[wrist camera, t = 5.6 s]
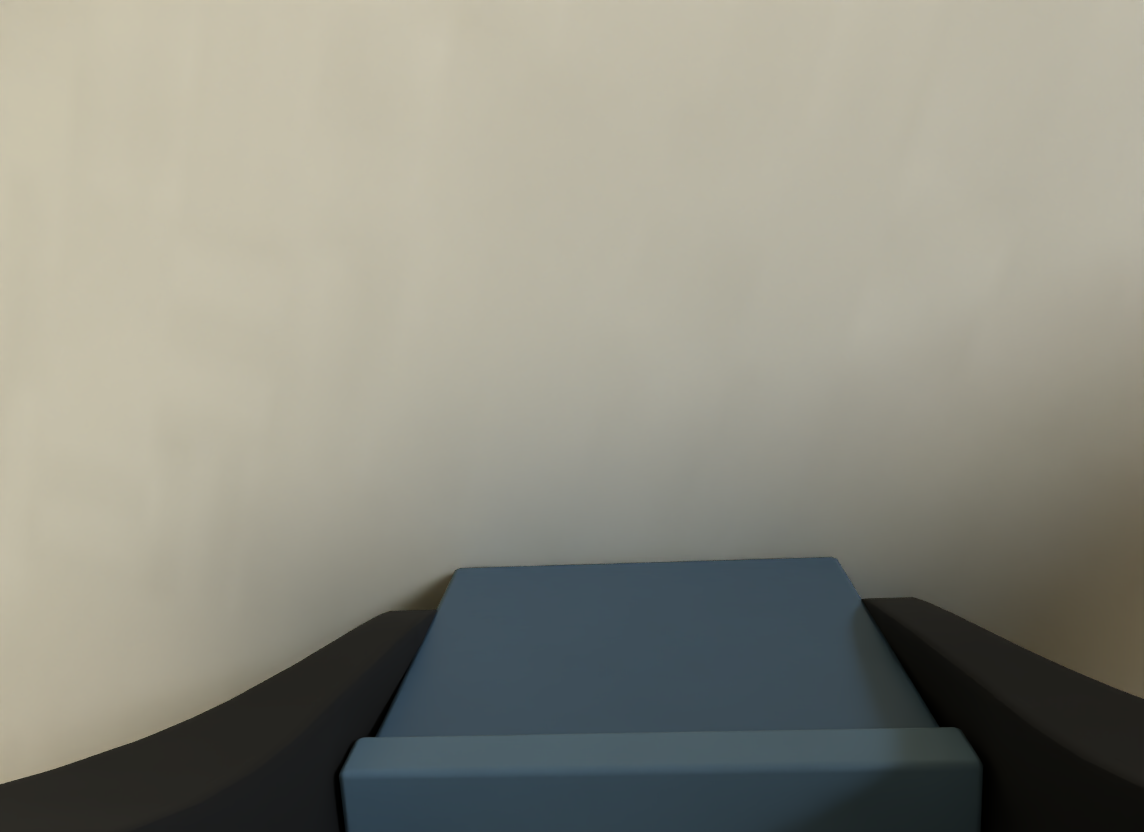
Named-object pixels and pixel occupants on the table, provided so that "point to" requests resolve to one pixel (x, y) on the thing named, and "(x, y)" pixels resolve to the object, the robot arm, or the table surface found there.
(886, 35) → the table surface
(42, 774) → the robot arm
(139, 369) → the table surface
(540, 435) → the table surface
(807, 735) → the storage box
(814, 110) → the table surface
